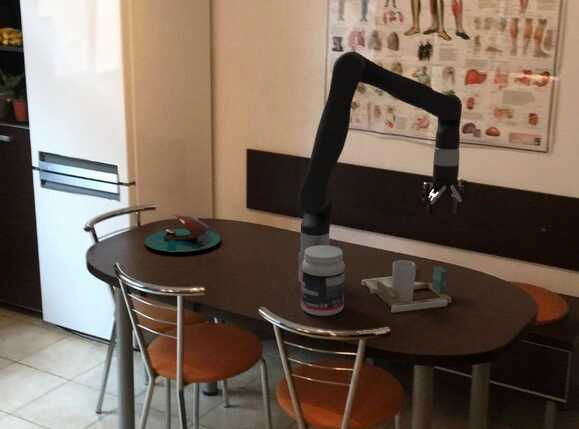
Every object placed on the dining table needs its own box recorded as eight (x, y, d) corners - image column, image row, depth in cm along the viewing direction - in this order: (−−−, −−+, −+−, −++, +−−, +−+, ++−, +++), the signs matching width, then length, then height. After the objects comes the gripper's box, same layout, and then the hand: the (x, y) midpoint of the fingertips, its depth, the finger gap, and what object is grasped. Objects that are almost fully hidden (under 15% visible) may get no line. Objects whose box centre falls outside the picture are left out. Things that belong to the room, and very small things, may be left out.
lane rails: (392, 312, 239) (392, 307, 238) (361, 284, 261) (362, 279, 260) (447, 305, 244) (447, 300, 243) (412, 278, 266) (412, 274, 265)
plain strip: (371, 290, 254) (372, 275, 253) (365, 284, 259) (365, 269, 258) (420, 285, 259) (421, 269, 258) (413, 279, 264) (413, 264, 263)
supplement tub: (292, 307, 242) (292, 249, 237) (325, 297, 250) (326, 241, 244) (319, 321, 232) (320, 261, 227) (353, 310, 240) (354, 252, 235)
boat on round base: (216, 256, 287) (215, 226, 284) (138, 256, 287) (136, 226, 284) (223, 232, 314) (223, 205, 311) (152, 232, 314) (150, 204, 311)
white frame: (393, 309, 240) (394, 283, 238) (375, 292, 253) (376, 267, 251) (452, 302, 246) (453, 276, 243) (431, 286, 258) (432, 261, 256)
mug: (405, 306, 243) (406, 269, 240) (386, 301, 247) (388, 264, 244) (423, 297, 250) (425, 260, 247) (405, 292, 254) (406, 256, 251)
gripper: (430, 166, 235) (427, 219, 240) (473, 163, 239) (470, 215, 244) (419, 161, 242) (416, 213, 246) (461, 158, 246) (457, 209, 251)
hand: (443, 214), depth 245 cm, fingers open, 8 cm apart
